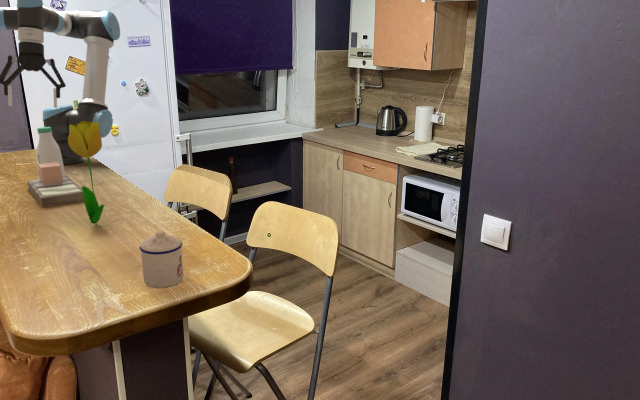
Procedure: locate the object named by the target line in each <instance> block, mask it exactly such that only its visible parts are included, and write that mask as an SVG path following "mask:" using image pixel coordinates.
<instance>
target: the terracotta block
mask: <svg viewBox="0 0 640 400" xmlns="http://www.w3.org/2000/svg"><path fill="white" fill-rule="evenodd" d="M37 169H38V175H39V180H40V181H41V182H42V184H43V185H47V184H54V183H62V182H63V180H62V172H61V165H60V164H58V163H57V162H52V163H44V164H39V163H37Z"/></svg>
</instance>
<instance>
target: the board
mask: <svg viewBox="0 0 640 400" xmlns="http://www.w3.org/2000/svg"><path fill="white" fill-rule="evenodd" d="M62 180H63V182H62V183H54V184H47V185H43V184H42V182H41V181H40V179H35V180H33V179H31V180H27V186H28V187H27V188H28V190H29V192H30V193H31V195H32V196H33V198H35V199H36V201H37V202H38V203H39V205H40V206H41V207H42V208H46V207H47V208H48V207H52V206H53V207H54V206H59V205H65V204H71V203H73V204H74V203H79V202H84V200H83V192H82V188H81V186H79V185H78V184H77V183H76V182H75V181H74V180H72V179H71V178H70V176H68V175H65V176H63V177H62Z"/></svg>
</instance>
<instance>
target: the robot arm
mask: <svg viewBox="0 0 640 400" xmlns="http://www.w3.org/2000/svg"><path fill="white" fill-rule="evenodd" d="M120 27H121V26H120V23H119V20H118V18H117V16H116V15H115V14H114V13H113V11H111V10H110V11H109V10H103V9H101V10H80V9H77V10H75V9H74V10H66V11H65V10H64V11H59V10H58V11H57V10H54V9H50V8H48V7H46V6H44V2H43V0H16V7H5V6H3V7H0V30H2V31H5V30H6V31H17V39H18V40H19V42H18V44H17V45H18V56H12V55H11V54H9V55H8V56H7V62H6V64H5V66H4V68H3V70H2V71H1V73H0V84H1V85H3V92H4V93H3V95H4V96H7V104H8V105H7V106H8V107H12V106H13V93H12V92H13V91H12V89H13V88H12V86H11V85H10V84H11V83H12V82H13V81H14V80H15V79H16V78H17V77H18V76H19V75H20V74H21V73H22V72H23V71H24V70H25V71H26V72H32V71H33V72H39V71H40V72H41V73H43V75H44V76H45V77H46V78H47V79H48V80H49V82H51V84H52V85H53V86H54V87H55V88H53V106H52V107H47V108H44V109H43V110H42V121H43V127H51V128H52V136H53V138H54V140H55V141H56V143H57V144H58V146H59V148H60V151H61V156H62V161H63V166H64V165H66V166H67V165H73V164H77V163H80V162H83V161H84V157H81V156H80V155H78V154H77V153H75V152H74V151H73V150H72V149H71V148H70V146H69V145H68V137H69V125H70V124H71V125H74V126H75V125H77V124H79V123H80V122H81V121H86V122H98V123H100V135H101V139H104V138H106V137H108V135H109V134H110V133H111V131H112V128H113V122H114V119H113V114H112V113H111V111H110V110H109V107H108V105H107V104H106V91H107V82H108V81H107V80H108V79H107V78H108V66H109V56H110V55H109V53H110V49H111V48H112V47H114V43H115V41H118V40H119V39H120V36H121V28H120ZM44 33H51V34H54V35H57V36H60V37H68V38H73V39H80V40H83V41H84V43H85V44H86V54H85V55H86V56H85V67H84V75H83V76H84V78H83V87H82V88H83V89H82V100H81V101H79V102H78V103H77V108H74V106H73V105H72V104H66V105H58V100H57V99H60V98H61V89H63V88H65V87H66V86H67V85H66V82H64V80H63V78H62V76H61V74H60V72H59V69H58V68H57V66H56V62H55V60H54V58H47V59H46V58H45V45H44V43H45V41H44V38H45V37H44ZM16 61H17V62H18V63H19V66H18V67H17V68H16V70H14V71H13V72H12V73H11V75H10V76H9V77H7V75H8V74H9V72H10V69H12V66H13V64H15V63H16ZM45 64H47V65H48V66H50V67H51V69H52V70H53V73H54V74H55V76H56V78H57V80H58V81H59V83H60V84H58V83H57V81H56V80H55V79H54V78H53V77H52V75H50V73H48V71H47V70H46V69H45V67H44V66H45ZM6 78H7V79H6ZM5 79H6V80H5Z"/></svg>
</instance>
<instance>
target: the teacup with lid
mask: <svg viewBox="0 0 640 400" xmlns="http://www.w3.org/2000/svg"><path fill="white" fill-rule="evenodd" d="M182 247H183V242H182V240H181V238H179V237H177V236H174V235H169V234H167V233H166V232H165V231H163V230H158V231H155V235H152V236H150V237H148V238H146V239H144V240H142V241H141V243H140V245H139V250H140V253H141V263H142V264H141V265H142V275H143V283H144V284H145V285H146V286H147V287H150V288H154V289H155V288H156V289H164V288H170V287H174V286H176V285H178V284H180V283H181V282H182V280H183V278H184V266H183V256H182V255H183V253H182V252H183V250H182Z"/></svg>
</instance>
